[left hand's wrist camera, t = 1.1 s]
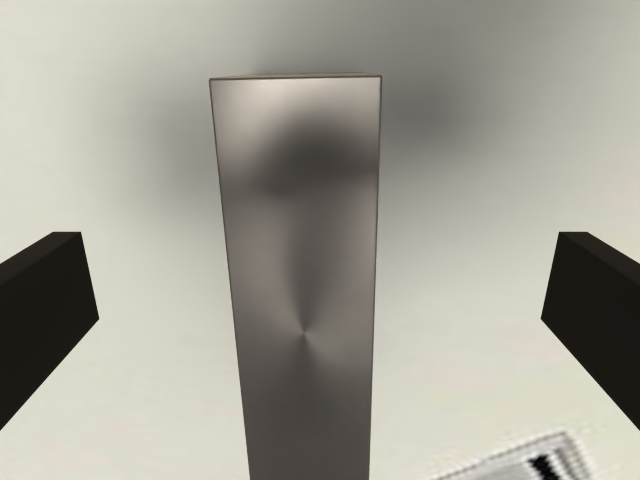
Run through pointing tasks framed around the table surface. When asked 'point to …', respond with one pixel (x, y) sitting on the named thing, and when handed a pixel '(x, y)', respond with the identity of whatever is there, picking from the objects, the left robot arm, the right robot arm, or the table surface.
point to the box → (302, 264)
